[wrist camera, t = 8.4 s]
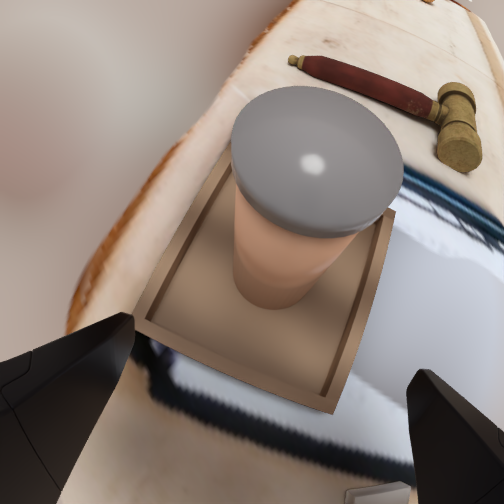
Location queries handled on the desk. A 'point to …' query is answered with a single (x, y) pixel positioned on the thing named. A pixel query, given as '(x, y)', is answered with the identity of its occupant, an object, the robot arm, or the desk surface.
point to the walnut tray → (255, 318)
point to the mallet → (380, 494)
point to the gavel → (412, 106)
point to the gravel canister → (304, 188)
